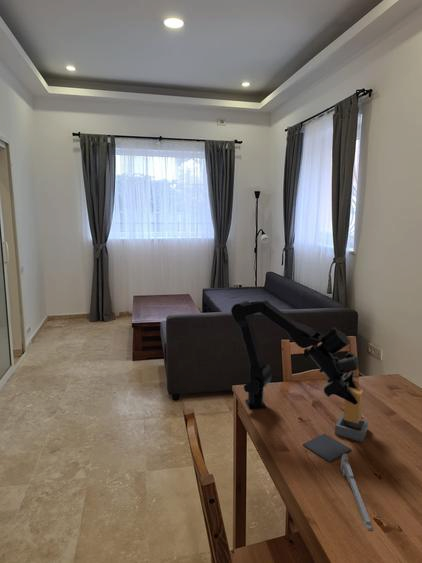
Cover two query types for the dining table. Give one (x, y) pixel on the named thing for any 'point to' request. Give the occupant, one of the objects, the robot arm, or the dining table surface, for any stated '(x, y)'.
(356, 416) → the block
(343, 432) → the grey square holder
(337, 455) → the mat
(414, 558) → the dining table surface
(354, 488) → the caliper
